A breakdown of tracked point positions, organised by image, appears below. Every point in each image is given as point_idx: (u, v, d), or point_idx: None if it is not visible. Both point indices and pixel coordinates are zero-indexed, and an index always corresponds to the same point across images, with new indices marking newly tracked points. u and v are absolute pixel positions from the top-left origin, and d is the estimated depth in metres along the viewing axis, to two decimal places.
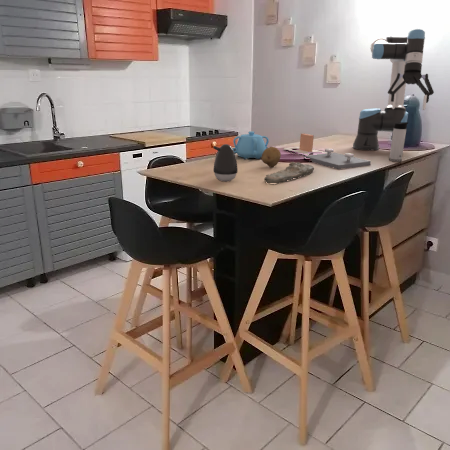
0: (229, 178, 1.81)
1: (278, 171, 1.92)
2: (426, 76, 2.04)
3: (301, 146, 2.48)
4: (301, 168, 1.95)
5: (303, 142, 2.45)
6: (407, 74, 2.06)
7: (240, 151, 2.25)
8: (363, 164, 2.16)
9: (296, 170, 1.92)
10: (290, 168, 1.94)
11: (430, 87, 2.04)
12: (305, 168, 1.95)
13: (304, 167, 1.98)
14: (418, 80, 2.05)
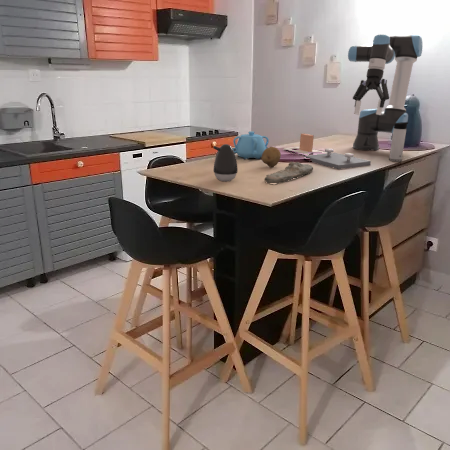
0: (229, 178, 1.81)
1: (278, 171, 1.92)
2: (382, 81, 2.05)
3: (301, 146, 2.48)
4: (301, 168, 1.95)
5: (303, 142, 2.45)
6: (368, 80, 2.12)
7: (240, 151, 2.25)
8: (363, 164, 2.16)
9: (296, 170, 1.92)
10: (290, 168, 1.94)
11: (383, 92, 2.04)
12: (304, 168, 1.95)
13: (303, 167, 1.98)
14: (374, 86, 2.08)
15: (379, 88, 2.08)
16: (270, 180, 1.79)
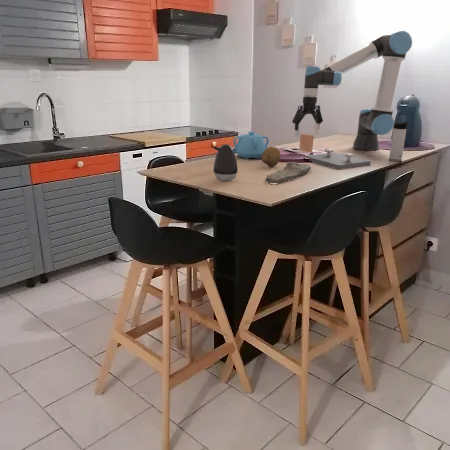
0: (229, 178, 1.81)
1: (277, 171, 1.92)
2: None
3: (301, 146, 2.48)
4: (299, 167, 1.96)
5: (303, 142, 2.45)
6: None
7: (240, 151, 2.25)
8: (363, 164, 2.16)
9: (295, 170, 1.92)
10: (288, 168, 1.94)
11: None
12: (303, 167, 1.96)
13: (301, 166, 1.99)
14: None
15: (302, 113, 2.38)
16: (271, 180, 1.79)
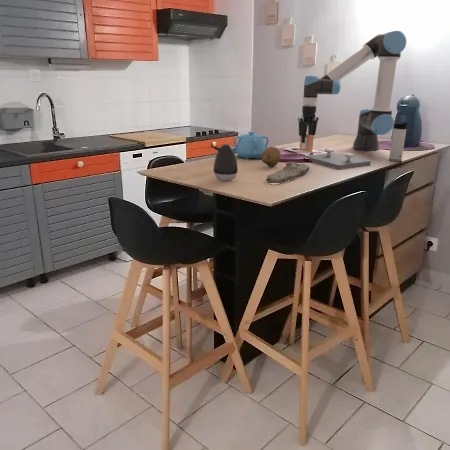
0: (229, 178, 1.81)
1: (277, 171, 1.91)
2: None
3: (301, 146, 2.48)
4: (299, 167, 1.96)
5: None
6: None
7: (240, 151, 2.25)
8: (363, 164, 2.16)
9: (295, 170, 1.92)
10: (288, 168, 1.94)
11: None
12: (302, 167, 1.96)
13: (301, 166, 1.99)
14: None
15: (304, 124, 2.41)
16: (272, 180, 1.79)
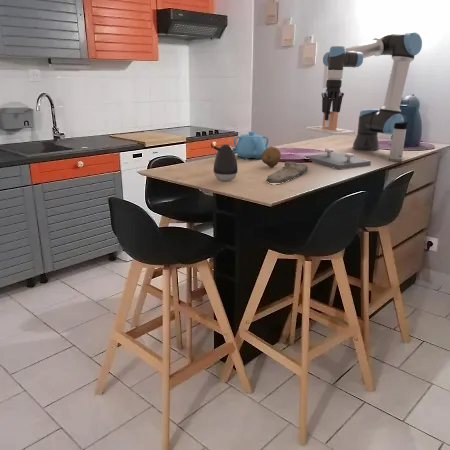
0: (229, 178, 1.81)
1: None
2: None
3: (324, 125, 2.29)
4: (297, 167, 1.96)
5: None
6: None
7: (240, 151, 2.25)
8: (363, 164, 2.16)
9: (294, 169, 1.93)
10: (287, 168, 1.95)
11: None
12: (301, 167, 1.96)
13: (299, 166, 2.00)
14: None
15: (328, 100, 2.22)
16: (273, 181, 1.79)
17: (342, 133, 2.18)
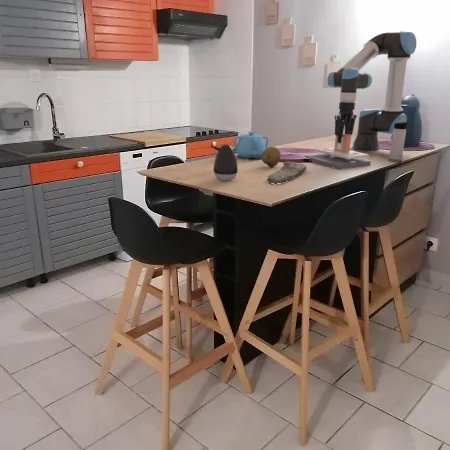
0: (229, 178, 1.81)
1: (276, 171, 1.91)
2: None
3: (336, 147, 2.24)
4: (297, 167, 1.97)
5: None
6: None
7: (240, 151, 2.25)
8: (363, 164, 2.16)
9: (293, 169, 1.93)
10: (287, 167, 1.95)
11: None
12: (300, 167, 1.97)
13: (298, 166, 2.00)
14: None
15: (341, 122, 2.17)
16: (274, 180, 1.79)
17: (356, 157, 2.14)
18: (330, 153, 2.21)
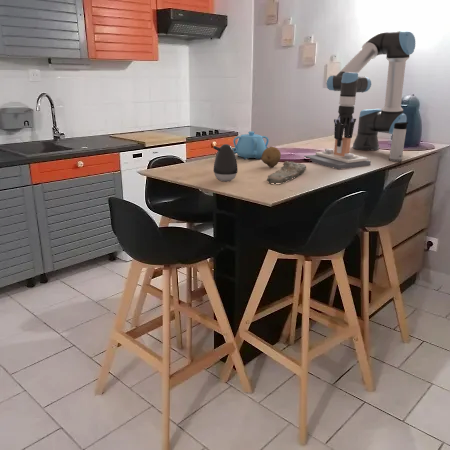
0: (229, 178, 1.81)
1: (276, 171, 1.91)
2: None
3: (336, 151, 2.25)
4: (296, 167, 1.97)
5: None
6: None
7: (240, 151, 2.25)
8: (363, 164, 2.16)
9: (293, 169, 1.93)
10: (286, 167, 1.95)
11: None
12: (300, 167, 1.97)
13: (298, 166, 2.00)
14: None
15: (341, 126, 2.18)
16: (274, 180, 1.79)
17: (356, 160, 2.14)
18: (330, 157, 2.21)
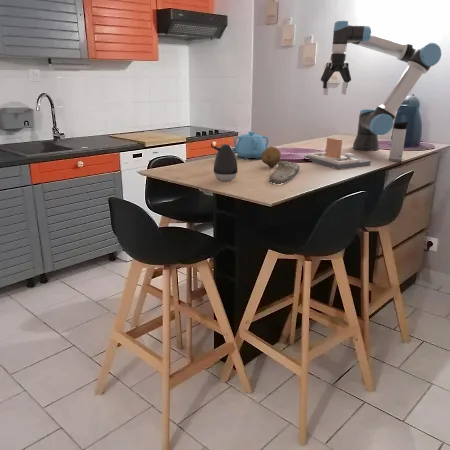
0: (229, 178, 1.81)
1: None
2: None
3: (328, 152, 2.22)
4: (292, 166, 1.98)
5: (330, 147, 2.20)
6: None
7: (240, 151, 2.25)
8: (363, 164, 2.16)
9: (290, 169, 1.94)
10: (283, 167, 1.95)
11: None
12: (296, 166, 1.98)
13: (292, 165, 2.02)
14: None
15: (331, 70, 2.32)
16: (277, 181, 1.78)
17: (347, 162, 2.12)
18: (321, 158, 2.19)
